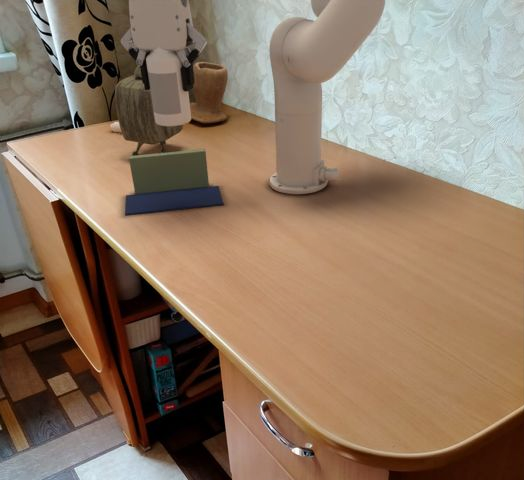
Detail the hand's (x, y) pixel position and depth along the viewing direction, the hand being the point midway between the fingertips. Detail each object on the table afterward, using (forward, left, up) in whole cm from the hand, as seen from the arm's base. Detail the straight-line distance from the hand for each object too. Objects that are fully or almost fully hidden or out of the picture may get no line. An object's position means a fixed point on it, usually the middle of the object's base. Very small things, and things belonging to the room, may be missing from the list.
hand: (169, 88), depth 104 cm
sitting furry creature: (+36, -44, -23) cm, 62 cm away
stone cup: (+19, -58, -23) cm, 66 cm away
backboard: (+6, -7, -23) cm, 24 cm away
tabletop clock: (+20, -28, -23) cm, 42 cm away
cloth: (+3, -2, -23) cm, 23 cm away
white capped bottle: (0, 0, -6) cm, 6 cm away
